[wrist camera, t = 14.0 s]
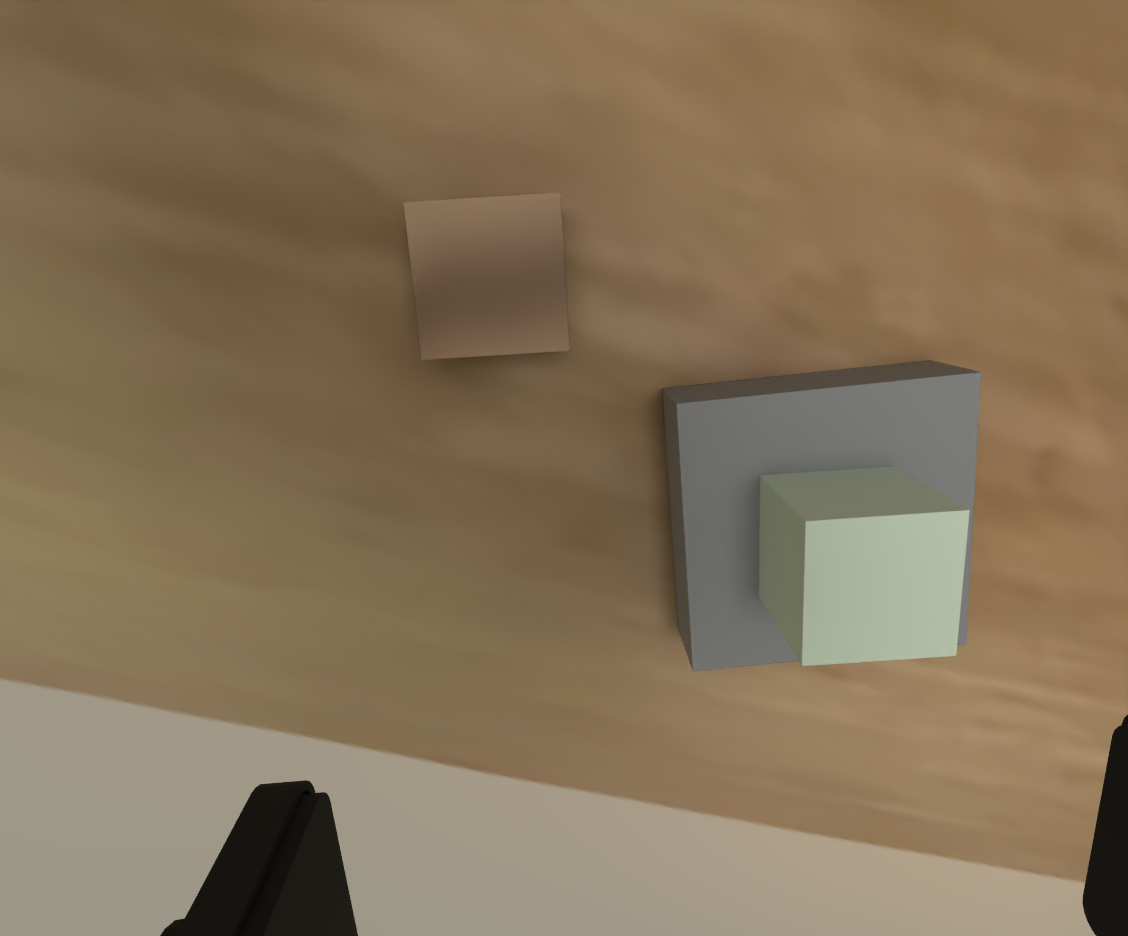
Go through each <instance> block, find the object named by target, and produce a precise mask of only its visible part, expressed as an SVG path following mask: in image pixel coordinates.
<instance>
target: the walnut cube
mask: <svg viewBox="0 0 1128 936" xmlns="http://www.w3.org/2000/svg"><path fill="white" fill-rule="evenodd" d="M403 203H404V212H405V220H406V229H407V238H408V247H409V256H410V264H411V273H412V282H413V291H414V299H415V308H416V317H417V326H418V335H419V343H420V352H421V360H429V359H445V358H461V357H477V356H494V355H510V354H526V353H542V352H558V351H570V349H569V332H568V314H567V297H566V280H565V262H564V245H563V228H562V211H561V193H560V192H557V193H541V194H525V195H510V196H494V197H478V198H462V199H447V200H431V201H415V202H403Z"/></svg>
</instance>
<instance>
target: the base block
mask: <svg viewBox="0 0 1128 936" xmlns="http://www.w3.org/2000/svg"><path fill="white" fill-rule="evenodd" d="M980 381H981V372H978V371H974V370H969V369H965V368H961V367H957V366H952V365H948V364H944V363H940V362H935V361H931V360H929V361H920V362H910V363H900V364H891V365H881V366H871V367H862V368H852V369H843V370H833V371H823V372H814V373H804V374H794V375H785V376H775V377H766V378H756V379H746V380H737V381H727V382H717V383H708V384H698V385H689V386H679V387H669V388H662V393H663V408H664V423H665V438H666V453H667V468H668V483H669V498H670V513H671V529H672V544H673V559H674V574H675V589H676V604H677V619H678V629H679V632H680V635H681V638H682V641H683V644H684V647H685V650H686V652H687V655H688V658H689V661H690V664H691V667H692V670H693V671H700V670H710V669H721V668H731V667H741V666H751V665H762V664H772V663H782V662H792V661H798V659H797V657H796V656H795V654H794V653H793V651H792V649H791V648H790V646H789V645H788V643H787V641H786V640H785V638H784V637H783V635H782V633H781V632H780V630H779V629H778V627H777V625H776V624H775V622H774V620H773V619H772V617H771V616H770V614H769V612H768V611H767V609H766V608H765V606H764V604H763V603H762V601H761V600H760V598H759V532H760V475H771V474H786V473H800V472H815V471H829V470H844V469H858V468H873V467H887V466H895V467H896V468H898V469H900V470H902V471H903V472H905V473H907V474H908V475H910V476H912V477H914V478H915V479H917V480H919V481H921V482H922V483H924V484H926V485H927V486H929V487H931V488H933V489H934V490H936V491H938V492H939V493H941V494H943V495H945V496H946V497H948V498H950V499H951V500H953V501H955V502H957V503H958V504H960V505H962V506H964V507H965V508H967V509H969V510H970V512H969V522H968V533H967V544H966V555H965V565H964V576H963V587H962V598H961V609H960V619H959V630H958V641H957V645H966V637H967V619H968V601H969V582H970V564H971V546H972V527H973V509H974V491H975V473H976V454H977V436H978V418H979V399H980Z"/></svg>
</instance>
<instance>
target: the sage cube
mask: <svg viewBox="0 0 1128 936" xmlns="http://www.w3.org/2000/svg"><path fill="white" fill-rule="evenodd" d="M969 512H970V510H969V509H967V508H965V507H964V506H962V505H960V504H958V503H957V502H955V501H953V500H951V499H950V498H948V497H946V496H945V495H943V494H941V493H939V492H938V491H936V490H934V489H933V488H931V487H929V486H927V485H926V484H924V483H922V482H921V481H919V480H917V479H915V478H914V477H912V476H910V475H908V474H907V473H905V472H903V471H902V470H900V469H898V468H896V467H895V466H887V467H873V468H858V469H844V470H829V471H815V472H800V473H786V474H771V475H760V532H759V598H760V600H761V601H762V603H763V604H764V606H765V608H766V609H767V611H768V612H769V614H770V616H771V617H772V619H773V620H774V622H775V624H776V625H777V627H778V629H779V630H780V632H781V633H782V635H783V637H784V638H785V640H786V641H787V643H788V645H789V646H790V648H791V649H792V651H793V653H794V654H795V656H796V657H797V659H798V661H799V662H800V664H801V665H802V666H811V665H826V664H840V663H855V662H870V661H885V660H900V659H915V658H930V657H944V656H956V652H957V641H958V630H959V619H960V609H961V598H962V587H963V576H964V565H965V555H966V544H967V533H968V522H969Z"/></svg>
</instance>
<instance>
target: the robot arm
mask: <svg viewBox="0 0 1128 936" xmlns="http://www.w3.org/2000/svg"><path fill="white" fill-rule="evenodd" d="M1083 908H1084V913H1085V915H1086V918H1087V921H1088V923H1089V925H1090V927H1091V929H1092V930H1093V932H1094V933H1095V935H1096V936H1128V715H1127V716H1126V717H1125V718H1124V720H1123V723H1122V725H1121V726H1118V727H1117V728H1116V729H1115V730H1114V733H1113V736H1112V740H1111V746H1110V751H1109V757H1108V762H1107V768H1106V773H1105V779H1104V784H1103V789H1102V795H1101V800H1100V806H1099V811H1098V817H1097V822H1096V828H1095V833H1094V839H1093V844H1092V850H1091V855H1090V861H1089V866H1088V872H1087V877H1086V883H1085V888H1084V893H1083ZM160 936H358V934H357V929H356V924H355V920H354V915H353V910H352V905H351V900H350V895H349V890H348V885H347V881H346V875H345V870H344V866H343V861H342V856H341V851H340V846H339V841H338V836H337V831H336V826H335V822H334V817H333V812H332V807H331V802H330V799H329V796H328V795H327V793H324V792H323V793H315V790H314V787H313V785H312V784H311V783H310V781H295V782H283V783H271V784H260V785H259V786H257V787H256V788H255V789H254V791H253V792H252V793H251V795H250V797H249V799H248V801H247V803H246V804H245V806H244V808H243V811H242V812H241V814H240V816H239V818H238V820H237V821H236V823H235V825H234V827H233V829H232V831H231V833H230V835H229V836H228V838H227V840H226V842H225V844H224V846H223V848H222V850H221V852H220V853H219V855H218V857H217V859H216V861H215V863H214V865H213V867H212V868H211V870H210V872H209V874H208V876H207V878H206V880H205V882H204V883H203V885H202V887H201V889H200V891H199V893H198V895H197V897H196V899H195V900H194V902H193V904H192V906H191V908H190V910H189V912H188V914H187V915H186V917H185V919H180V920H175V921H174V922H173V923H171V924H170V925H169V926H168V927H167V928H165V929H164V931H163V932H162V934H161V935H160Z"/></svg>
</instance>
